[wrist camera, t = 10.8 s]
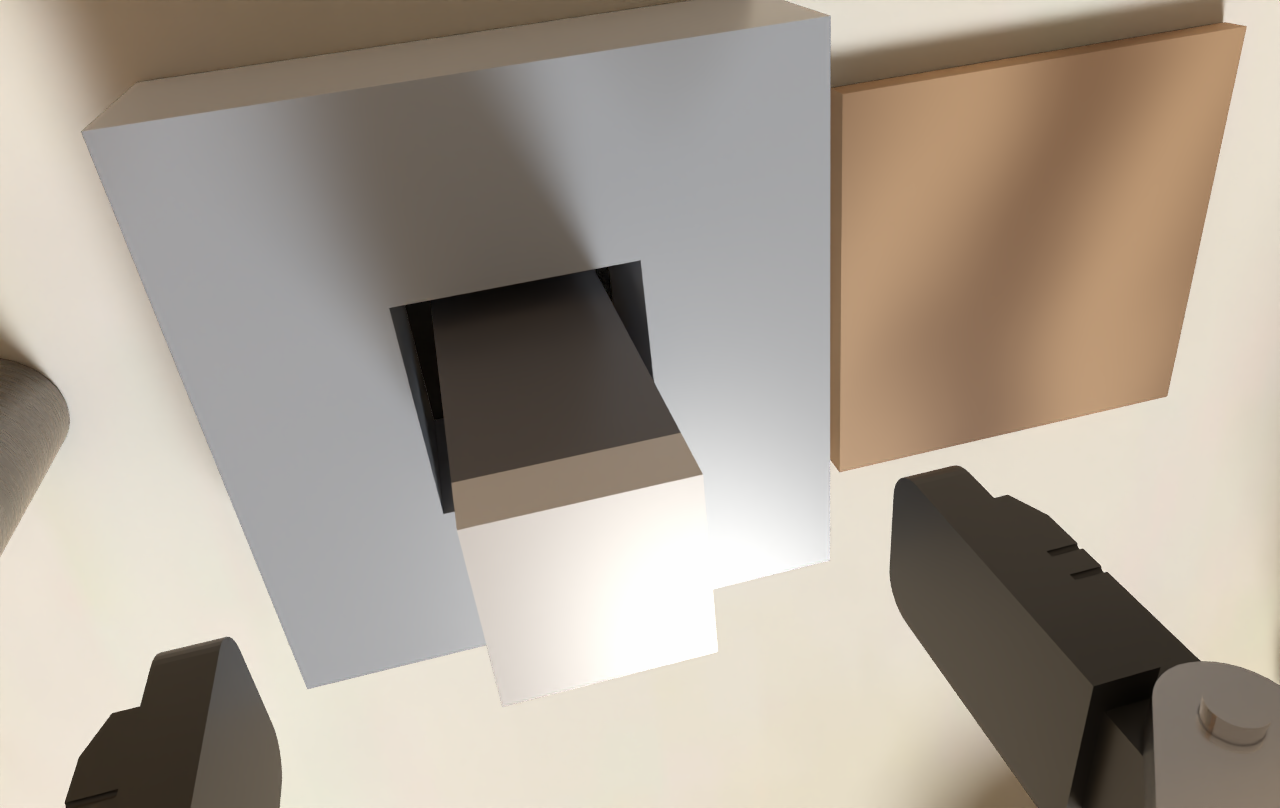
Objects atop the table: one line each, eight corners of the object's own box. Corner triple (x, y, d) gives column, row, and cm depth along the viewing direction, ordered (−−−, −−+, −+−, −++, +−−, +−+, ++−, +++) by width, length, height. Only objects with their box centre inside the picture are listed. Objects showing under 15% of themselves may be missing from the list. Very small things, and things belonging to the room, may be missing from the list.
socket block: (754, -10, 18) (830, 16, 15) (772, 472, 23) (830, 560, 20) (136, 82, 16) (80, 131, 13) (317, 576, 22) (307, 689, 19)
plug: (574, 231, 19) (702, 474, 11) (593, 361, 21) (718, 651, 13) (425, 258, 19) (456, 531, 11) (456, 389, 20) (502, 707, 13)
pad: (1225, 22, 20) (1246, 26, 20) (1151, 385, 25) (1167, 396, 24) (830, 88, 19) (842, 94, 18) (830, 459, 23) (839, 471, 23)
